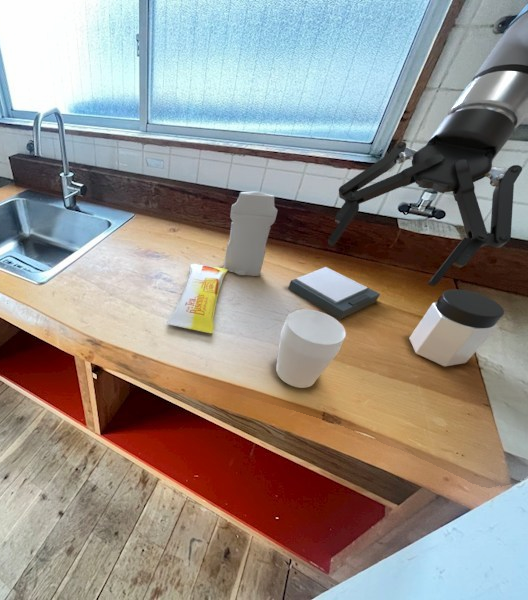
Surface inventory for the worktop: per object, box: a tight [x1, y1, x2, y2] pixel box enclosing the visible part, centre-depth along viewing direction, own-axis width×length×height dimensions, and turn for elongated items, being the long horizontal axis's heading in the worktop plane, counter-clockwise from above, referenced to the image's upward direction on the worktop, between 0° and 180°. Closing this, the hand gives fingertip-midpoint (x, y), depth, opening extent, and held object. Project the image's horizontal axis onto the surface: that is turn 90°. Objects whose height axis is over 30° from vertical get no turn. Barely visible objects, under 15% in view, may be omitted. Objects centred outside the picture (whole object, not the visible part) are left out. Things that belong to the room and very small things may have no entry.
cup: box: [275, 308, 347, 389], centre depth 56 cm, size 9×9×12 cm
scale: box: [288, 266, 381, 320], centre depth 78 cm, size 14×13×3 cm
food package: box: [166, 263, 228, 334], centre depth 79 cm, size 27×2×10 cm
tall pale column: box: [222, 191, 279, 277], centre depth 82 cm, size 11×4×22 cm, turn 66°
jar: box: [408, 288, 505, 367], centre depth 59 cm, size 9×8×12 cm
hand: (377, 262), depth 47 cm, fingers open, 13 cm apart
